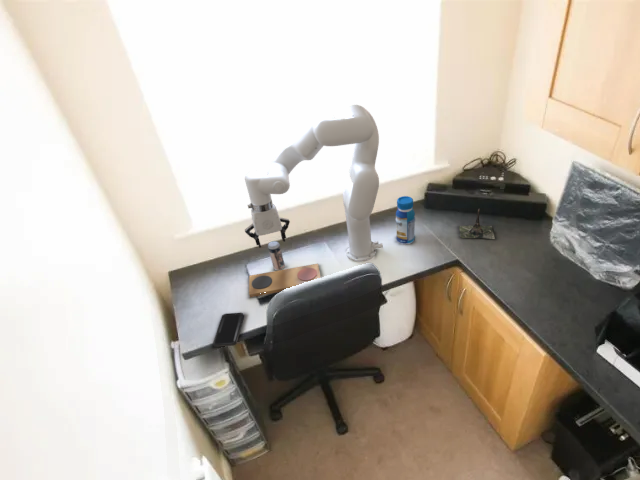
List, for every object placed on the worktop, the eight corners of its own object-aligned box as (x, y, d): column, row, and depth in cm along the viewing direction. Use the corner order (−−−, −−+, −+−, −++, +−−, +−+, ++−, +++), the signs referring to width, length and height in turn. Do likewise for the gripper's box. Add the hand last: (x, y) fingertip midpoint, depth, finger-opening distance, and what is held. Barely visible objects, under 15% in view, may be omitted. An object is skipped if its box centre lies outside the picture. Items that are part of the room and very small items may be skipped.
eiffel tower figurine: (491, 226, 189) (495, 200, 180) (494, 239, 182) (499, 212, 173) (458, 226, 190) (460, 200, 181) (460, 239, 183) (462, 212, 174)
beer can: (282, 271, 171) (276, 247, 163) (271, 270, 172) (265, 246, 164) (286, 264, 174) (281, 240, 166) (276, 263, 175) (270, 239, 167)
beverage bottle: (416, 243, 181) (417, 203, 168) (397, 246, 181) (396, 205, 167) (413, 233, 188) (413, 193, 174) (394, 235, 187) (393, 195, 174)
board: (318, 266, 172) (317, 262, 171) (321, 284, 164) (321, 280, 162) (250, 278, 168) (249, 275, 167) (250, 297, 159) (248, 294, 158)
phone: (243, 312, 151) (235, 343, 140) (244, 314, 152) (236, 345, 141) (222, 313, 151) (211, 344, 140) (223, 316, 152) (213, 347, 141)
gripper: (240, 214, 148) (251, 253, 160) (287, 204, 153) (295, 242, 165) (237, 205, 154) (248, 243, 165) (283, 195, 159) (290, 233, 170)
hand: (271, 242), depth 165 cm, fingers open, 9 cm apart
